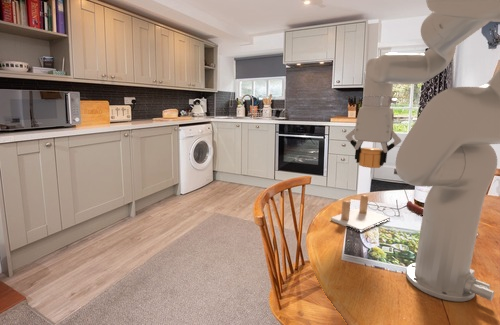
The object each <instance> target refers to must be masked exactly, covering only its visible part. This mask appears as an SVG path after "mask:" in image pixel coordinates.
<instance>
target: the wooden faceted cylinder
mask: <svg viewBox="0 0 500 325" xmlns="http://www.w3.org/2000/svg"><path fill="white" fill-rule="evenodd" d="M382 150H383V149H381V148H378V147H377V148H376V147H361V152H360V158H359V163H358V166H360V167H363V168H367V169H368V168H370V169H377V168H378V169H379V168H381V167H382V166H380V157H381V152H382Z"/></svg>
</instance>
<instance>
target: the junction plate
mask: <svg viewBox="0 0 500 325" xmlns="http://www.w3.org/2000/svg"><path fill="white" fill-rule="evenodd" d="M359 199H360V201H359V207H357V208H354V209H352V210H351V200H345V199H344V200H342V202H341V203H342V204H341V213H340V214H336V215H334V216H331V217H330V221H332V222H334V223H335V224H338V225H341V226H344V227H346V226H350V227H353V228H356V229H359V230H363V229H365V228H367V227H369V226H371V225H375V224H377V223H380V222H382V221H385V220H387V219H389V220H390V216H386V215H383V214H381V213H378V212H375V211H371V210H369V209H368V204H369V195H368V194H361V195H360V198H359Z"/></svg>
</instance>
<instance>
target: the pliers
mask: <svg viewBox="0 0 500 325" xmlns="http://www.w3.org/2000/svg"><path fill="white" fill-rule="evenodd" d="M406 207H407V208H408V209H409V210H410V211H412V212H413V211H414V212H413V213H416V214H418V213H419V214H418V215H420V214H421V215H420V216H422V215H423V209H424V208H422V207H420V206H418V205H415V204H414V203H413V202H412V201H410V200H408V201H407V202H406Z"/></svg>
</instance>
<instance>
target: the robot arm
mask: <svg viewBox="0 0 500 325" xmlns="http://www.w3.org/2000/svg"><path fill="white" fill-rule="evenodd" d="M425 1H426V6H427V8H428V9H429V10H430V12H431V13H430V14H429V15H428V16H427V17H426V18H424V20H423V22H422V23H421V26H420V37H421V39H422V41H423V42H424V44H425V45H426V47H427V48H428V49H427V50H425V51H424V52H423V53H407V52H406V53H402V52H399V53H398V52H388V53H383V54H380V56H378V57H372V58H369V59H368V60H367V62H366V66H365V74H364V84H363V95H362V96H363V97H362V104H361V106H360V107H359V110H358V113H357V116H356V120H355V126H354V128H353V129H352V131H350V132H348V134H346V135H345V139H346V140H347V141H348V142H349V143H350V144H351V146H353V148H354V149H355V154H354V160H356V162H355V163H357V164H359V158H360V152H361V148H362V146H363V143H364V142H367V143H369V142H371V143H380V145H381V148H382V152H381V157H380V166H381V167H383V166H384V164H386V163H387V158H388V157H387V156H388V153H389V151H391V150H392V149H394V148H395V147H396V146H397V145H399V144H400V143H401V142H402V143H401V144H400V147H399V149H398V151H397V154H396V158H395V170H396V173H397V175H398V177H399V179H400V180H401V181H403V182H404V183H406V184H408V185H409V186H414V187H431V188H430V190H429V191H428V193H427V194H426V197H425V200H424V204H423V208H422V209H423V216H422V215H421V224H420V231H419V236H418V237H419V238H418V243H417V244H418V245H417V249H416V250H417V251H416V257H415V262H413V263H410V264H409V265H408V266H407V267H406V269H405V276H406V279H407V280H408V282H410V283H411V284H412V285H413V287H415V288H417V289H418V290H420V291H422V292H424V293H425V294H427V295H429V296H431V297H434V298H438V299H441V300H445V301H449V302H467V301H470V300H472V299H473V298H475V297H476V295H478V296H479V297H481V298H482V299H486V300H487V301H490V302H491V301H493V298H494V296H495V291H494V290H493V289H491V284H489V283H487V282H484V281H482V280H479V279H477V277H475V276H474V274H475V272H476V271H475V269H472V268H471V265H472V261H473V256H474V251H475V244H476V240H477V235H478V229H479V225H480V220H481V216H482V210H483V205H484V201H485V197H486V195H487V193H488V190H489V187H490V185H491V183H492V181H493V179H494V177H495V175H496V170H497V168H498V156H497V152H496V151H495V149H494V147H493V145H500V68H499V69H498V70H497V71H496V73H495V74H494V75H493V76H492V78H490V80H488V82H486V83H485V84H484V85H480V86H455V87H451V88H447V89H444V90H442V91H440V92H439V93H437V94H436V95H435V96H433V97H432V98H431V99H430V100H429V101H428V102H427V104H426V105H425V106H424V108H423V109H422V111H421V113H420V114H419V115H418V117H417V119H416V120H415V122H414V124H413V125H412V127H411V128H410V130H409V131H408V133H407V135H406V136H405V138H404V140H403V141H402V139H401V137H400V136H399V135H398V134H397V133H396V132H395V131H394V123H395V122H394V116H395V115H394V113H395V112H394V108H393V107H391V105H396V104H397V98H393V97H392V95H393V89H394V88H393V86H394V85H420V84H423V83H425V82H427V81H430V80H431V79H434V77H436V76H437V75H438V74H440V73H442V72H443V71H445V69H447V67H448V66H449V65H450V63H451V62H452V60H453V57H454V55H455V53H456V49H457V46H458V45H460V44H461V43H462V42H464V41H465V40H467V39H468V38H470V36H472V35H474V34H475V33H476V32H478V31H479V30H481V29H482V28H483V27H484V26H486V25H488V24H489V23H490V22H495V23H500V0H425ZM353 137H354V138H353ZM392 139H393V142H391V143H390V144H388V143H389V142H390V141H392Z"/></svg>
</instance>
